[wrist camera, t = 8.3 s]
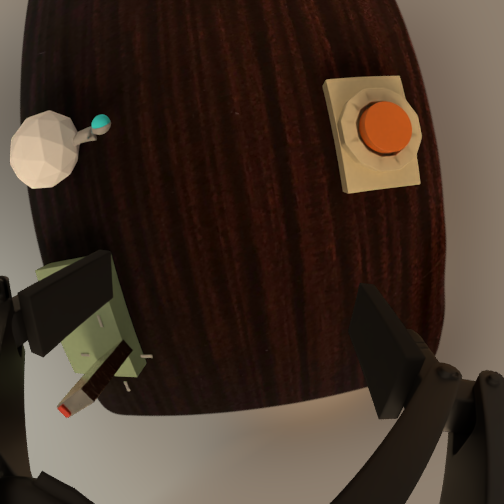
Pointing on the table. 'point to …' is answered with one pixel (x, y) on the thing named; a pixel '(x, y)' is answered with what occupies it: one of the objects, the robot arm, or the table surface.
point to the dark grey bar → (94, 380)
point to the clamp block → (101, 331)
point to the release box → (351, 143)
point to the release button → (385, 127)
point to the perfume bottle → (50, 147)
